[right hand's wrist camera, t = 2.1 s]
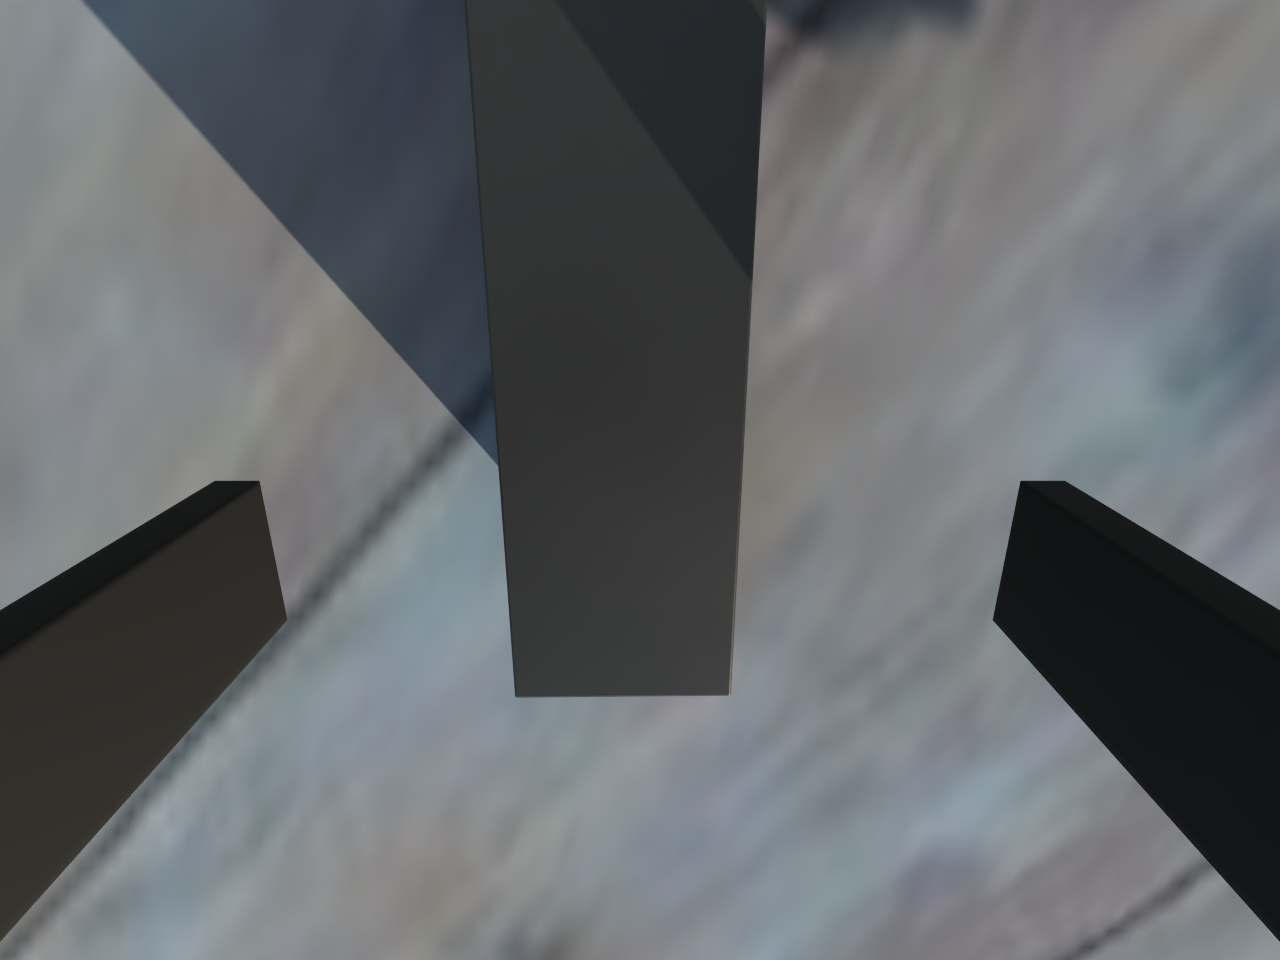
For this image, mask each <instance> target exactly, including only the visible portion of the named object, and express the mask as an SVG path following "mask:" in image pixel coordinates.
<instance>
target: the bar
mask: <svg viewBox="0 0 1280 960" xmlns="http://www.w3.org/2000/svg"><path fill="white" fill-rule="evenodd" d="M465 12H466V26H467V40H468V54H469V67H470V81H471V95H472V109H473V122H474V136H475V150H476V164H477V177H478V191H479V205H480V219H481V232H482V246H483V260H484V274H485V287H486V301H487V315H488V329H489V342H490V356H491V370H492V384H493V397H494V411H495V425H496V439H497V452H498V466H499V480H500V494H501V507H502V521H503V535H504V549H505V562H506V576H507V590H508V604H509V617H510V631H511V645H512V659H513V672H514V686H515V696H516V697H619V696H722V695H730V693H731V679H732V660H733V641H734V622H735V603H736V584H737V565H738V546H739V527H740V508H741V489H742V470H743V451H744V432H745V413H746V394H747V375H748V356H749V337H750V318H751V299H752V280H753V261H754V242H755V223H756V204H757V185H758V166H759V147H760V128H761V108H762V89H763V70H764V51H765V32H766V13H767V0H465Z"/></svg>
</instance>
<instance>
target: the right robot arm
mask: <svg viewBox="0 0 1280 960" xmlns="http://www.w3.org/2000/svg"><path fill="white" fill-rule="evenodd" d="M286 621H287V616H286V611H285V606H284V601H283V596H282V591H281V586H280V581H279V576H278V571H277V566H276V561H275V556H274V551H273V546H272V541H271V536H270V531H269V526H268V521H267V516H266V511H265V506H264V501H263V496H262V491H261V486H260V481H214V482H212V483H211V484H209V485H207V486H206V487H204V488H202V489H201V490H199V491H197V492H196V493H194V494H192V495H191V496H189V497H187V498H186V499H184V500H182V501H181V502H179V503H178V504H176V505H174V506H173V507H171V508H169V509H168V510H166V511H164V512H163V513H161V514H159V515H158V516H156V517H154V518H153V519H151V520H149V521H148V522H146V523H144V524H143V525H141V526H139V527H138V528H136V529H134V530H133V531H131V532H129V533H128V534H126V535H124V536H123V537H121V538H119V539H118V540H116V541H114V542H113V543H111V544H109V545H108V546H106V547H104V548H103V549H101V550H99V551H98V552H96V553H95V554H93V555H91V556H90V557H88V558H86V559H85V560H83V561H81V562H80V563H78V564H76V565H75V566H73V567H71V568H70V569H68V570H66V571H65V572H63V573H61V574H60V575H58V576H56V577H55V578H53V579H51V580H50V581H48V582H46V583H45V584H43V585H41V586H40V587H38V588H36V589H35V590H33V591H31V592H30V593H28V594H26V595H25V596H23V597H21V598H20V599H18V600H16V601H15V602H13V603H12V604H10V605H8V606H7V607H5V608H3V609H2V610H0V941H1V940H2V939H3V938H4V937H5V936H6V934H7V933H8V932H9V931H10V930H11V929H12V928H13V927H14V926H15V924H16V923H17V922H18V921H19V920H20V919H21V918H22V917H23V915H24V914H25V913H26V912H27V911H28V910H29V909H30V908H31V906H32V905H33V904H34V903H35V902H36V901H37V900H38V899H39V898H40V896H41V895H42V894H43V893H44V892H45V891H46V890H47V889H48V887H49V886H50V885H51V884H52V883H53V882H54V881H55V880H56V878H57V877H58V876H59V875H60V874H61V873H62V872H63V871H64V870H65V868H66V867H67V866H68V865H69V864H70V863H71V862H72V861H73V859H74V858H75V857H76V856H77V855H78V854H79V853H80V852H81V850H82V849H83V848H84V847H85V846H86V845H87V844H88V843H89V842H90V840H91V839H92V838H93V837H94V836H95V835H96V834H97V833H98V831H99V830H100V829H101V828H102V827H103V826H104V825H105V824H106V822H107V821H108V820H109V819H110V818H111V817H112V816H113V815H114V813H115V812H116V811H117V810H118V809H119V808H120V807H121V806H122V805H123V803H124V802H125V801H126V800H127V799H128V798H129V797H130V796H131V794H132V793H133V792H134V791H135V790H136V789H137V788H138V787H139V785H140V784H141V783H142V782H143V781H144V780H145V779H146V778H147V777H148V775H149V774H150V773H151V772H152V771H153V770H154V769H155V768H156V766H157V765H158V764H159V763H160V762H161V761H162V760H163V759H164V757H165V756H166V755H167V754H168V753H169V752H170V751H171V750H172V749H173V747H174V746H175V745H176V744H177V743H178V742H179V741H180V740H181V738H182V737H183V736H184V735H185V734H186V733H187V732H188V731H189V729H190V728H191V727H192V726H193V725H194V724H195V723H196V722H197V721H198V719H199V718H200V717H201V716H202V715H203V714H204V713H205V712H206V710H207V709H208V708H209V707H210V706H211V705H212V704H213V703H214V701H215V700H216V699H217V698H218V697H219V696H220V695H221V694H222V693H223V691H224V690H225V689H226V688H227V687H228V686H229V685H230V684H231V682H232V681H233V680H234V679H235V678H236V677H237V676H238V675H239V673H240V672H241V671H242V670H243V669H244V668H245V667H246V666H247V665H248V663H249V662H250V661H251V660H252V659H253V658H254V657H255V656H256V654H257V653H258V652H259V651H260V650H261V649H262V648H263V647H264V645H265V644H266V643H267V642H268V641H269V640H270V639H271V638H272V637H273V635H274V634H275V633H276V632H277V631H278V630H279V629H280V628H281V626H282V625H283V624H284V623H285V622H286ZM993 621H994V622H995V623H996V624H997V625H998V626H999V628H1000V629H1001V630H1002V631H1003V632H1004V633H1005V634H1006V635H1007V637H1008V638H1009V639H1010V640H1011V641H1012V642H1013V643H1014V644H1015V645H1016V647H1017V648H1018V649H1019V650H1020V651H1021V652H1022V653H1023V654H1024V656H1025V657H1026V658H1027V659H1028V660H1029V661H1030V662H1031V663H1032V665H1033V666H1034V667H1035V668H1036V669H1037V670H1038V671H1039V672H1040V673H1041V675H1042V676H1043V677H1044V678H1045V679H1046V680H1047V681H1048V682H1049V684H1050V685H1051V686H1052V687H1053V688H1054V689H1055V690H1056V691H1057V693H1058V694H1059V695H1060V696H1061V697H1062V698H1063V699H1064V700H1065V701H1066V703H1067V704H1068V705H1069V706H1070V707H1071V708H1072V709H1073V710H1074V712H1075V713H1076V714H1077V715H1078V716H1079V717H1080V718H1081V719H1082V721H1083V722H1084V723H1085V724H1086V725H1087V726H1088V727H1089V728H1090V729H1091V731H1092V732H1093V733H1094V734H1095V735H1096V736H1097V737H1098V738H1099V740H1100V741H1101V742H1102V743H1103V744H1104V745H1105V746H1106V747H1107V749H1108V750H1109V751H1110V752H1111V753H1112V754H1113V755H1114V756H1115V757H1116V759H1117V760H1118V761H1119V762H1120V763H1121V764H1122V765H1123V766H1124V768H1125V769H1126V770H1127V771H1128V772H1129V773H1130V774H1131V775H1132V777H1133V778H1134V779H1135V780H1136V781H1137V782H1138V783H1139V784H1140V785H1141V787H1142V788H1143V789H1144V790H1145V791H1146V792H1147V793H1148V794H1149V796H1150V797H1151V798H1152V799H1153V800H1154V801H1155V802H1156V803H1157V805H1158V806H1159V807H1160V808H1161V809H1162V810H1163V811H1164V812H1165V814H1166V815H1167V816H1168V817H1169V818H1170V819H1171V820H1172V821H1173V822H1174V824H1175V825H1176V826H1177V827H1178V828H1179V829H1180V830H1181V831H1182V833H1183V834H1184V835H1185V836H1186V837H1187V838H1188V839H1189V840H1190V842H1191V843H1192V844H1193V845H1194V846H1195V847H1196V848H1197V849H1198V850H1199V852H1200V853H1201V854H1202V855H1203V856H1204V857H1205V858H1206V859H1207V861H1208V862H1209V863H1210V864H1211V865H1212V866H1213V867H1214V868H1215V870H1216V871H1217V872H1218V873H1219V874H1220V875H1221V876H1222V877H1223V878H1224V880H1225V881H1226V882H1227V883H1228V884H1229V885H1230V886H1231V887H1232V889H1233V890H1234V891H1235V892H1236V893H1237V894H1238V895H1239V896H1240V898H1241V899H1242V900H1243V901H1244V902H1245V903H1246V904H1247V905H1248V906H1249V908H1250V909H1251V910H1252V911H1253V912H1254V913H1255V914H1256V915H1257V917H1258V918H1259V919H1260V920H1261V921H1262V922H1263V923H1264V924H1265V926H1266V927H1267V928H1268V929H1269V930H1270V931H1271V932H1272V933H1273V934H1274V936H1275V937H1276V938H1277V939H1278V940H1279V941H1280V610H1278V609H1277V608H1275V607H1273V606H1272V605H1270V604H1268V603H1267V602H1265V601H1264V600H1262V599H1260V598H1259V597H1257V596H1255V595H1254V594H1252V593H1250V592H1249V591H1247V590H1245V589H1244V588H1242V587H1240V586H1239V585H1237V584H1235V583H1234V582H1232V581H1230V580H1229V579H1227V578H1225V577H1224V576H1222V575H1220V574H1219V573H1217V572H1215V571H1214V570H1212V569H1210V568H1209V567H1207V566H1205V565H1204V564H1202V563H1200V562H1199V561H1197V560H1195V559H1194V558H1192V557H1190V556H1189V555H1187V554H1185V553H1184V552H1182V551H1181V550H1179V549H1177V548H1176V547H1174V546H1172V545H1171V544H1169V543H1167V542H1166V541H1164V540H1162V539H1161V538H1159V537H1157V536H1156V535H1154V534H1152V533H1151V532H1149V531H1147V530H1146V529H1144V528H1142V527H1141V526H1139V525H1137V524H1136V523H1134V522H1132V521H1131V520H1129V519H1127V518H1126V517H1124V516H1122V515H1121V514H1119V513H1117V512H1116V511H1114V510H1112V509H1111V508H1109V507H1107V506H1106V505H1104V504H1102V503H1101V502H1099V501H1098V500H1096V499H1094V498H1093V497H1091V496H1089V495H1088V494H1086V493H1084V492H1083V491H1081V490H1079V489H1078V488H1076V487H1074V486H1073V485H1071V484H1069V483H1068V482H1066V481H1020V486H1019V491H1018V496H1017V501H1016V506H1015V511H1014V516H1013V521H1012V526H1011V531H1010V536H1009V541H1008V546H1007V551H1006V556H1005V561H1004V566H1003V571H1002V576H1001V581H1000V586H999V591H998V596H997V601H996V606H995V611H994V616H993Z"/></svg>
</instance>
